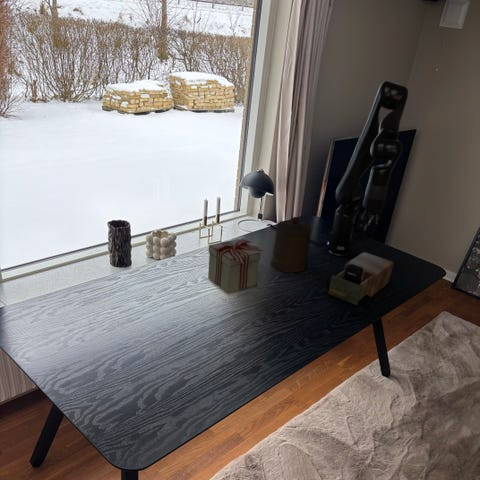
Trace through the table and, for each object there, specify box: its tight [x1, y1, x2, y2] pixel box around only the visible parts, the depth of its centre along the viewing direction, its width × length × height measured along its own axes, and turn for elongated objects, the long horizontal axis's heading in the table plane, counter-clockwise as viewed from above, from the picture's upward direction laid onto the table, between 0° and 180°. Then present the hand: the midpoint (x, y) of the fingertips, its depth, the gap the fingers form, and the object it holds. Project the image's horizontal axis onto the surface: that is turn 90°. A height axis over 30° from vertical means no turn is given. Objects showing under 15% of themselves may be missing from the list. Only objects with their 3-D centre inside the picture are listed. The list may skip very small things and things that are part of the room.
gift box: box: [207, 238, 264, 294], centre depth 191 cm, size 17×18×17 cm
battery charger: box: [344, 263, 364, 285], centre depth 188 cm, size 7×4×11 cm, turn 49°
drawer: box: [327, 269, 374, 306], centre depth 189 cm, size 22×13×8 cm, turn 141°
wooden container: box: [271, 216, 312, 273], centre depth 207 cm, size 15×15×22 cm
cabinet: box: [343, 251, 395, 298], centre depth 200 cm, size 17×14×10 cm
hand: (365, 236), depth 186 cm, fingers open, 8 cm apart
